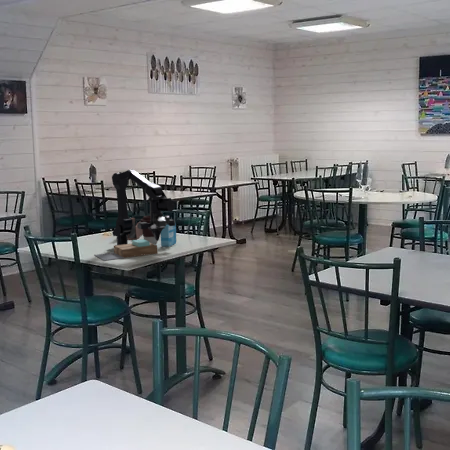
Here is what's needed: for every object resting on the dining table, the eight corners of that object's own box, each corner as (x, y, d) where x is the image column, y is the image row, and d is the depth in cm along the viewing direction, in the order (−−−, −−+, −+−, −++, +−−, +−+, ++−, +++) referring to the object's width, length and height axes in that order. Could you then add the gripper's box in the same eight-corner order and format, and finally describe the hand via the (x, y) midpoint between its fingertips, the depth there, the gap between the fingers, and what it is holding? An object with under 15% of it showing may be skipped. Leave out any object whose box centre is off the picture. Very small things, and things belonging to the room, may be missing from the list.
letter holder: (119, 240, 344) (118, 216, 342) (126, 234, 364) (125, 211, 362) (137, 240, 344) (135, 215, 341) (143, 234, 363) (142, 211, 361)
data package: (168, 247, 318) (167, 224, 317) (160, 247, 320) (159, 224, 318) (176, 243, 330) (175, 221, 328) (168, 243, 331) (167, 221, 329)
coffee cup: (157, 241, 338) (156, 214, 335) (161, 244, 328) (160, 216, 326) (140, 242, 335) (138, 215, 332) (143, 245, 325) (142, 218, 323)
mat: (94, 255, 302) (94, 254, 302) (113, 253, 307) (113, 252, 307) (104, 260, 288) (104, 260, 288) (124, 258, 293) (124, 257, 293)
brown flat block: (114, 253, 306) (113, 245, 306) (147, 249, 315) (146, 241, 314) (123, 257, 294) (122, 249, 293) (157, 253, 303) (157, 245, 302)
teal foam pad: (132, 244, 308) (132, 240, 307) (143, 242, 310) (143, 239, 310) (138, 246, 300) (138, 242, 300) (149, 245, 303) (149, 241, 302)
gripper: (144, 213, 296) (146, 245, 298) (179, 210, 304) (180, 241, 307) (136, 211, 305) (137, 242, 308) (170, 208, 314) (171, 238, 316)
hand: (157, 240), depth 309 cm, fingers closed
